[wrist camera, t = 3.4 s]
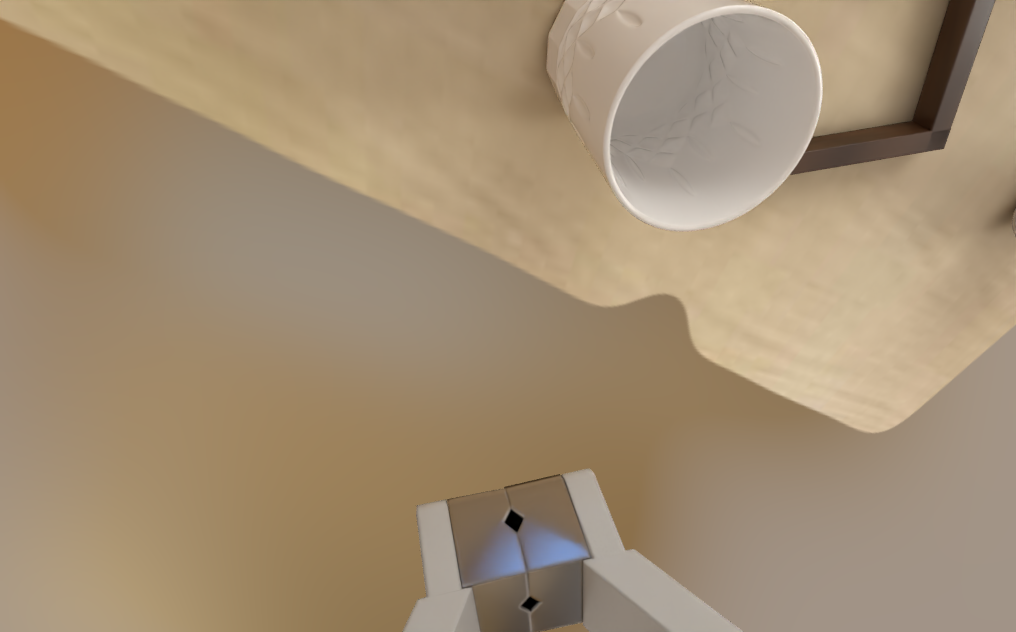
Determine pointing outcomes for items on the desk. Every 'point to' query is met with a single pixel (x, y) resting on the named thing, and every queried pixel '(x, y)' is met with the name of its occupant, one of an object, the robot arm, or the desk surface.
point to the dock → (934, 106)
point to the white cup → (686, 102)
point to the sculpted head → (1014, 222)
